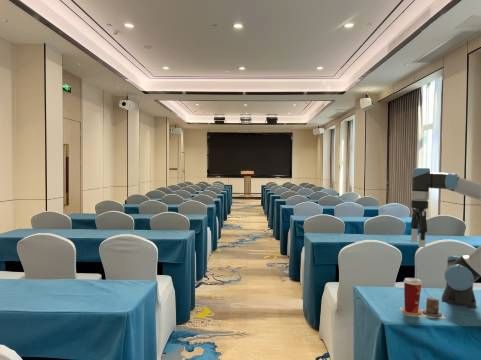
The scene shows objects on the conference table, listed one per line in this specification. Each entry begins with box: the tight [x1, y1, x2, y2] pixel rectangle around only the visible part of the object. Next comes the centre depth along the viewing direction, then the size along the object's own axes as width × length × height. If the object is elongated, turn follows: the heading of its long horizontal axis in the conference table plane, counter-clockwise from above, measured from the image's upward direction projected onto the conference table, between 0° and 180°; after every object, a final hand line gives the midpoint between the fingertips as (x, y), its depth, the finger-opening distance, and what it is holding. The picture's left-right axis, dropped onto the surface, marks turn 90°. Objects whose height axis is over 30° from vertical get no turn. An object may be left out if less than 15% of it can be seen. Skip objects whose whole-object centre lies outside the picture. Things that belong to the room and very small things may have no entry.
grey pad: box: [422, 309, 443, 317], centre depth 196 cm, size 8×8×1 cm
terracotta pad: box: [401, 307, 422, 315], centre depth 197 cm, size 8×8×1 cm
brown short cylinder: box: [425, 297, 440, 315], centre depth 196 cm, size 5×5×6 cm
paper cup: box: [403, 277, 423, 313], centre depth 197 cm, size 8×8×14 cm
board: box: [399, 307, 447, 320], centre depth 197 cm, size 17×11×1 cm, turn 83°
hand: (417, 244), depth 213 cm, fingers open, 13 cm apart
